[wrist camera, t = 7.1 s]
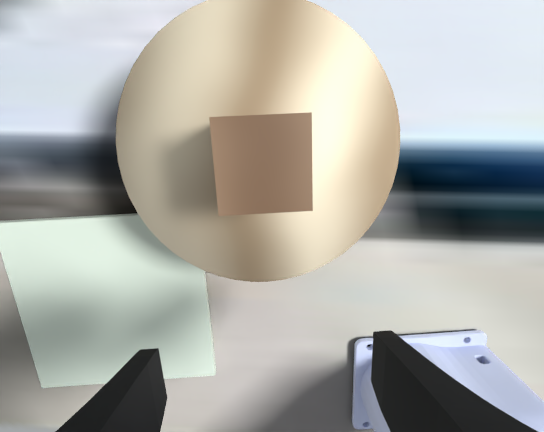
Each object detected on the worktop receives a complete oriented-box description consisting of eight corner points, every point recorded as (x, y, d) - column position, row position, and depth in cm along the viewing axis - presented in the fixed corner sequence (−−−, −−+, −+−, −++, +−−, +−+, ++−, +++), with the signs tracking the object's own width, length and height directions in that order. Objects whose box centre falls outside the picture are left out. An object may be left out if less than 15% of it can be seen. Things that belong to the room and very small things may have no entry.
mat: (198, 209, 20) (196, 212, 19) (216, 370, 23) (215, 375, 23) (-2, 221, 19) (-9, 223, 19) (46, 382, 23) (41, 388, 22)
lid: (399, -4, 13) (482, -78, 8) (383, 264, 16) (436, 323, 12) (101, 5, 13) (7, -67, 8) (147, 279, 16) (101, 346, 11)
